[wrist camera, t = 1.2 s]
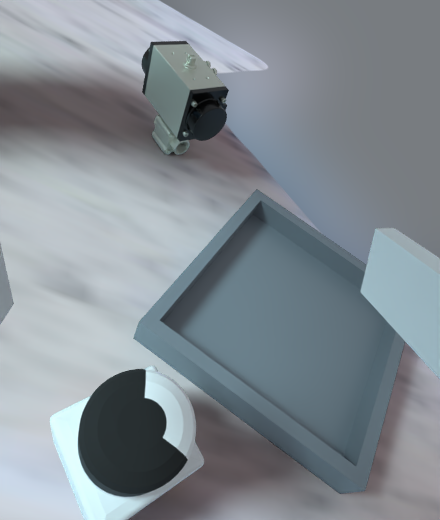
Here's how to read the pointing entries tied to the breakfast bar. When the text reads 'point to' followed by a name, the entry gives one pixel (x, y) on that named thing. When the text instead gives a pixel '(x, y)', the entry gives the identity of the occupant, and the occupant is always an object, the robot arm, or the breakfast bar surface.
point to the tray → (283, 340)
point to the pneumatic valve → (182, 95)
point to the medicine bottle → (127, 443)
